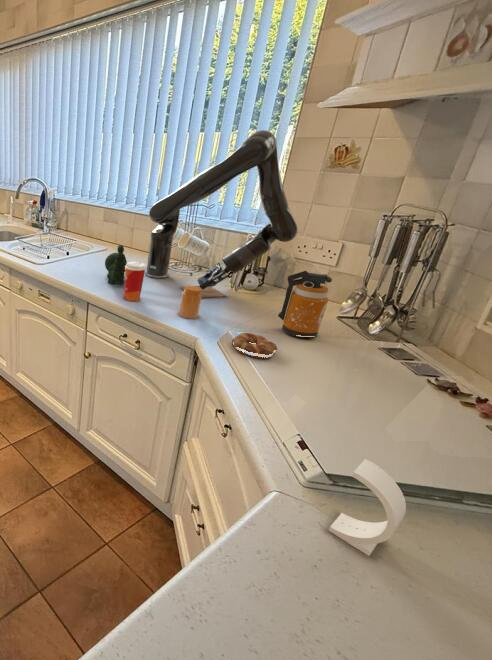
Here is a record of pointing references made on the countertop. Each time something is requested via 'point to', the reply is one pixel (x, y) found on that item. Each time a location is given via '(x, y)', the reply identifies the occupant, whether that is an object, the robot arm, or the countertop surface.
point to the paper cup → (133, 280)
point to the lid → (203, 279)
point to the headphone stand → (366, 532)
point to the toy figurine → (116, 266)
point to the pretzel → (260, 346)
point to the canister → (305, 304)
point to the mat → (209, 292)
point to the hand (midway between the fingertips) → (199, 284)
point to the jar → (190, 302)
